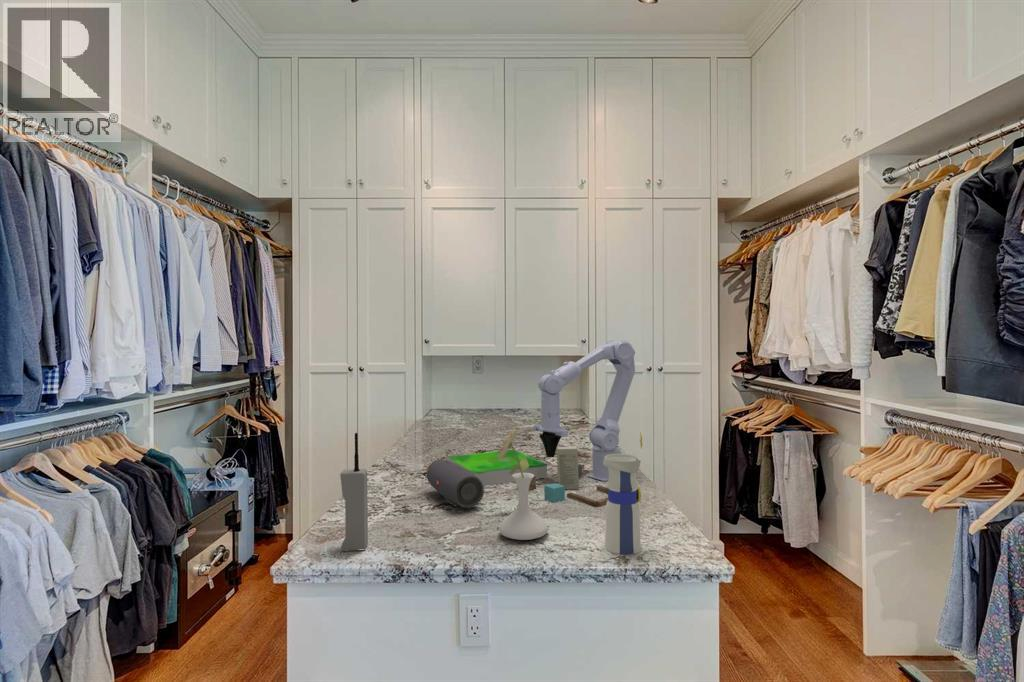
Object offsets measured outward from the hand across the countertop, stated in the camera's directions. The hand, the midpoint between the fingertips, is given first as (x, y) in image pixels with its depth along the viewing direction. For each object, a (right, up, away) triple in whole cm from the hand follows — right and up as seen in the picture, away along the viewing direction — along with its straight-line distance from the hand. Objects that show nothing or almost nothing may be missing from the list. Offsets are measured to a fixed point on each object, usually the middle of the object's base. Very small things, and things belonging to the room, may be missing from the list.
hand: (550, 456), depth 172 cm
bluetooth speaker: (-28, -9, -19) cm, 35 cm away
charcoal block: (+8, -8, +7) cm, 13 cm away
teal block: (0, -8, -19) cm, 20 cm away
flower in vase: (-10, -9, -46) cm, 48 cm away
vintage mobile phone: (-46, -9, -52) cm, 70 cm away
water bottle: (+12, -9, -53) cm, 55 cm away
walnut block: (-8, -8, -8) cm, 14 cm away
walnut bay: (+12, -8, -16) cm, 21 cm away
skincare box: (+5, -8, -6) cm, 11 cm away
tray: (-17, -9, +11) cm, 22 cm away
